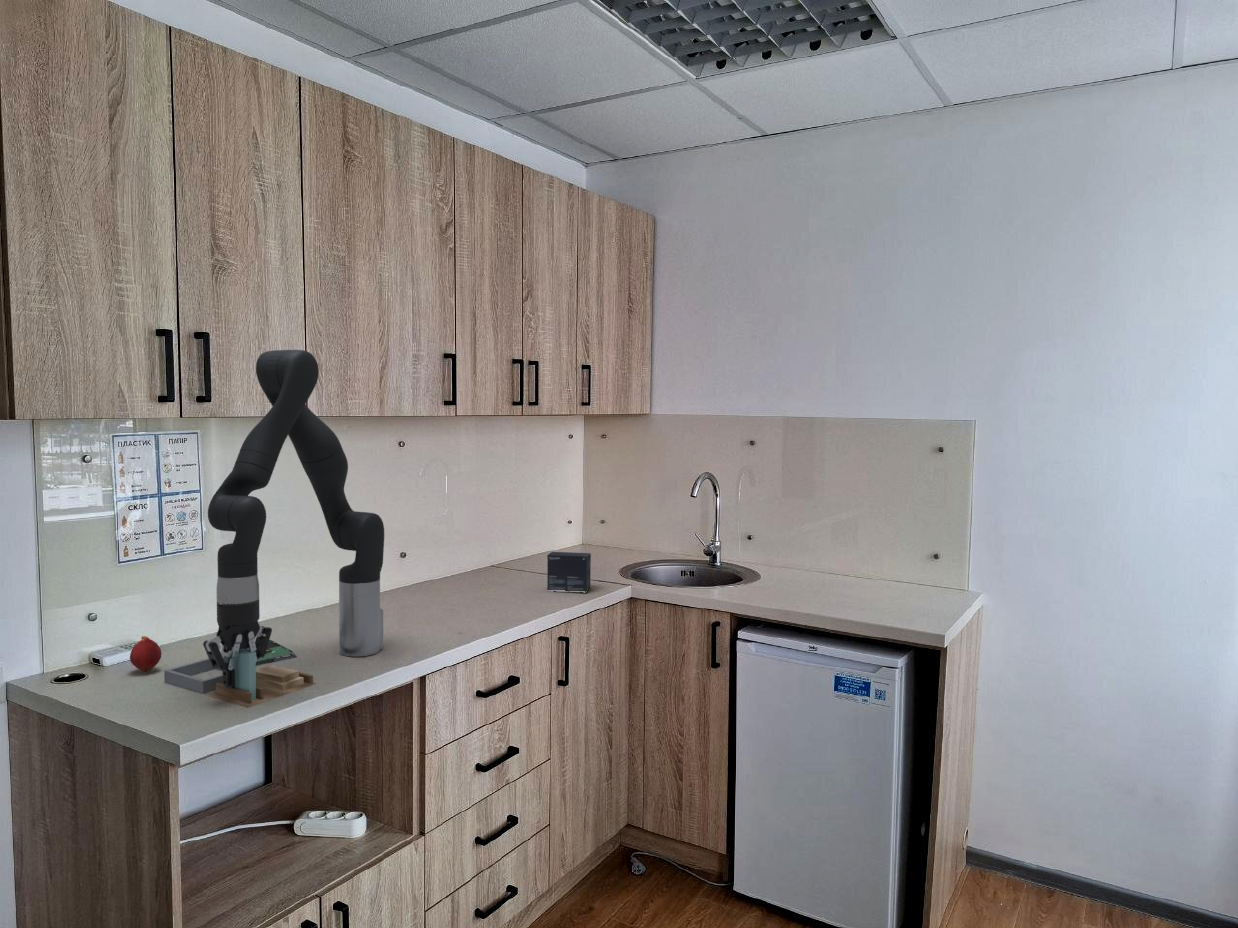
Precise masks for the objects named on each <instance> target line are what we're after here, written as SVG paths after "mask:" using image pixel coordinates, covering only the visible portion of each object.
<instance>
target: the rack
mask: <svg viewBox="0 0 1238 928" xmlns="http://www.w3.org/2000/svg"><path fill="white" fill-rule="evenodd" d="M276 667H279V666H278V665H277V666H276ZM299 677H303V678H304V684H301V685H299V686H296V687H293V688H290V689H287V690H284V691H282V690H278V689H275V688H271V687H267V686H264V685H260V684H257V683H256V699H255V700H252V692H248V691H244V690H241V689H237V688H232V689H229V688H226V687H225V686H224V685H223V684H220V683H217V684H216V690H214V691H211V692H207V693H204V696H208V697H210V698H214V699H217V700H221V701H224V702H227V703H230V704H233V705H236V706H237V705H238V706H241V707H244V708H247V709H248V708H251V707H254V706H256V705H259V704H262V703H265V702H268V701H271V700H274V699H276V698H280V697H283V696H286V695H288V694H291V693H293V692H296V691H299V690H302V689H305V688H308V687H312V686H314V685H316V684H317V682H314V675H313V674H309V673H306V672H305V673H304V672H301V671H299Z"/></svg>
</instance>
